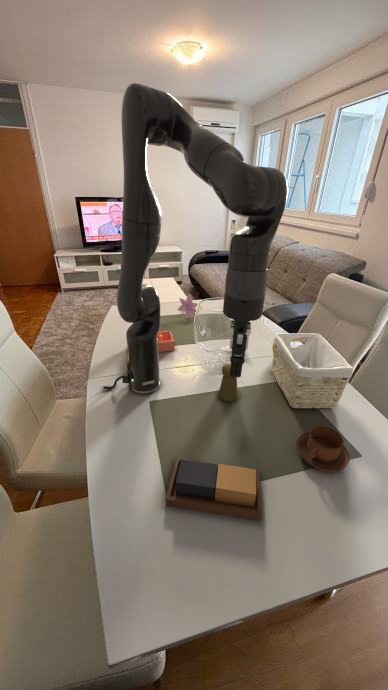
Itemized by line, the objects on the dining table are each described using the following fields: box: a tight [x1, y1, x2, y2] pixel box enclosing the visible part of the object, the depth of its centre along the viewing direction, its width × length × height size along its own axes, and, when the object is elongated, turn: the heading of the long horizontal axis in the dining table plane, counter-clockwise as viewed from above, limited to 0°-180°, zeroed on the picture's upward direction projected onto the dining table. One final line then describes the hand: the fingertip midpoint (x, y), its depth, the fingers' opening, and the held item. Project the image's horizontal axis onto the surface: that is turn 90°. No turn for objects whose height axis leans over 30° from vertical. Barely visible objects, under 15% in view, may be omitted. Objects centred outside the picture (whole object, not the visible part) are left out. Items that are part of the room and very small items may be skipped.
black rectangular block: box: [176, 458, 218, 501], centre depth 64 cm, size 8×6×4 cm
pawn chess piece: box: [218, 362, 239, 402], centre depth 91 cm, size 6×6×11 cm
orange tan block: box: [215, 463, 256, 507], centre depth 63 cm, size 8×6×4 cm
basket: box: [271, 332, 354, 409], centre depth 95 cm, size 24×16×15 cm
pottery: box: [158, 330, 175, 353], centre depth 119 cm, size 18×10×10 cm, turn 104°
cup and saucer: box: [296, 425, 350, 473], centre depth 72 cm, size 12×12×6 cm
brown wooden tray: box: [165, 457, 262, 522], centre depth 64 cm, size 19×11×2 cm, turn 81°
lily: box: [177, 293, 199, 320], centre depth 150 cm, size 12×12×10 cm
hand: (236, 364), depth 63 cm, fingers open, 8 cm apart
